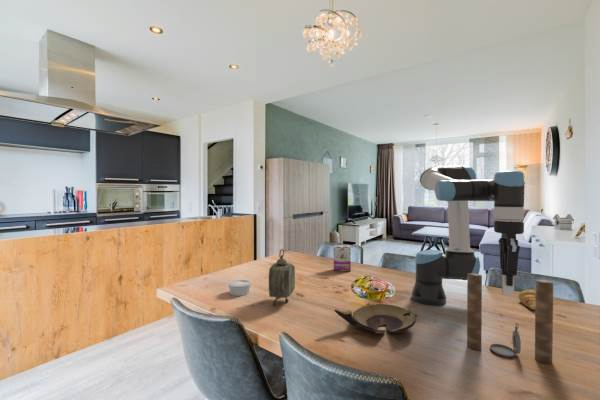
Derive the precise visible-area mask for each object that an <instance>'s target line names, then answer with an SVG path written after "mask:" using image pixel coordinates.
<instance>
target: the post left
mask: <svg viewBox="0 0 600 400" xmlns="http://www.w3.org/2000/svg"><path fill="white" fill-rule="evenodd" d="M482 275H483V274H480V273H479V274H474V273H468V277H467V280H466V281H467V291H466V292H467V293H466V294H467V295H466V296H467V298H466V299H467V301H466V302H467V304H466V305H467V306H466V307H467V310H466V315H467V316H466V322H467V323H466V346H467V348H468V349H471V351H481V350H482V328H483V327H482V321H483V319H482V317H483V316H482V315H483V314H482V311H483V308H482V307H483V306H482V304H483V301H482V299H483V294H482V293H483V276H482Z"/></svg>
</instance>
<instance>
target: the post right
mask: <svg viewBox="0 0 600 400" xmlns="http://www.w3.org/2000/svg"><path fill="white" fill-rule="evenodd" d="M535 290H536V297H535V310H534V311H535V313H534V317H535V318H534V359H535V360H536V361H537V362H539V363H541V364H544V365H553V345H554V344H553V342H554V340H553V339H554V338H553V332H554V329H553V328H554V325H553V324H554V282H553V281H549V280H545V279H536V280H535Z"/></svg>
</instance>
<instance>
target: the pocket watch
mask: <svg viewBox="0 0 600 400" xmlns="http://www.w3.org/2000/svg"><path fill="white" fill-rule="evenodd" d="M519 327H520V326H519V323H516V324H515V326H514V330H512V335H511V336H512V339H511V340H512V347H513V348H512V347H510V346H507V345H505V344H501V343H492V344H490V345H489V349H490V350H491V351H492V352H493V353H494V354H497V355H499V356H502V357H505V358H513V357H515V356H516V355H517V354H520V353H521V351H522V350H521V348H522V347H521V344H522V342H521V336H520V332H519V331H518V329H519Z"/></svg>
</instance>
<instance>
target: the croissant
mask: <svg viewBox="0 0 600 400" xmlns="http://www.w3.org/2000/svg"><path fill="white" fill-rule="evenodd" d="M517 297H518V300H519V301H520V303H522V304H523V305H524V306H526V307H527V308H529V309H530V310H532V311H535V297H536V289H531V288H530V289H523V290H522V291H520V292H519V293H518V295H517Z"/></svg>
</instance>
